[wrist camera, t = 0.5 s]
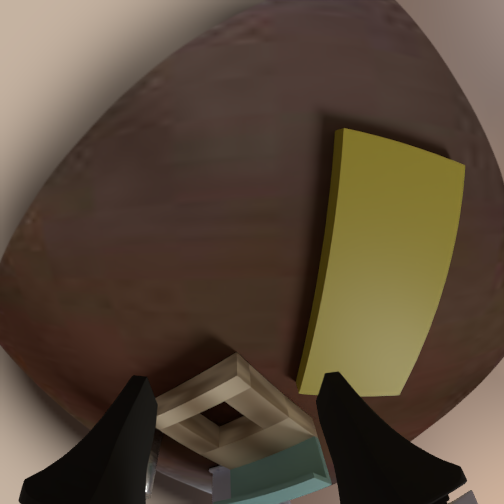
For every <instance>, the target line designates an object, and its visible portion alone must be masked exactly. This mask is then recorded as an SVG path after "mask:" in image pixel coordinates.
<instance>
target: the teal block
mask: <svg viewBox="0 0 504 504" xmlns="http://www.w3.org/2000/svg"><path fill="white" fill-rule="evenodd" d="M230 484H231V498H230V499H226V500H221V501H216V502H213V504H278V503H282V502H285V501H288V500H291V499H295V498H298V497H301V496H303V495H306V494H309V493H312V492H315V491H317V490H320V489H322V488H325V487H327V486H330V485H332V483H331V480H330V477H329V473H328V470H327V466H326V463H325V460H324V456H323V453H322V450H321V446H320V443H319V440H318V438H317V437H316V436H313V437H311V438H309V439H307V440H305V441H303V442H301V443H299V444H296V445H294V446H292V447H290V448H287V449H285V450H283V451H280V452H278V453H275V454H273V455H271V456H268V457H265V458H263V459H260V460H257V461H255V462H252V463H249V464H246V465H243V466H240V467H237V468H234V469H231V470H230Z"/></svg>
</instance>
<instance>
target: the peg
mask: <svg viewBox="0 0 504 504" xmlns="http://www.w3.org/2000/svg"><path fill="white" fill-rule="evenodd" d="M162 436H163V433H162V431H160V430H159V429H157V428H155V432H154V437H153V442H152V447H151V452H150V457H149V462H148V467H147V474H146V499H147V498H150V497H151V494H152V487H153V481H154V477H155V471H156V466H157V461H158V455H159V450H160V445H161V440H162Z"/></svg>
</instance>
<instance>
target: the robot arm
mask: <svg viewBox="0 0 504 504" xmlns="http://www.w3.org/2000/svg"><path fill="white" fill-rule="evenodd" d="M316 404H317V410H318V415H319V420H320V424H321V427H322V430H323V433H324V436H325V439H326V442H327V445H328V449H329V452H330V455H331V458H332V461H333V464H334V468H335V473H336V478H337V484H338V490H339V497H340V504H447V501H448V500H449V496H448V494H449V493H451V492H453V491H454V490H456V489H457V488H459V487H460V486H462V485H463V484H465V483H466V482H467V479H466V477H465V475H464V473H463V471H462V469H461V467H460V466H458V465H455V464H452V463H449V462H447V461H443V460H442V459H439V458H437V457H435V456H433V455H431V454H429V453H428V452H426V451H424V450H422V449H421V448H419V447H417V446H415V445H414V444H412V443H411V442H410V441H408V440H407V439H405V438H404V437H402V436H401V435H400V434H399V433H397V432H396V431H395V430H394V429H392V428H391V427H390V426H389V425H388V424H387V423H386V422H384V421H383V420H382V419H381V418H380V417H379V416H378V415H377V414H376V413H375V412H374V411H373V410H372V409H371V408H370V407H369V406H368V405H367V403H366V402H365V401H364V400H363V399H362V398H361V397H360V396H359V395H358V394H357V392H356V391H355V390H354V389H353V388H352V386H351V385H350V384H349V383H348V382H347V380H346V379H345V378H344V377H343V376H342V374H341V373H340V372H339V371H337V372H330V373H325V374H324V378H323V381H322V384H321V387H320V390H319V394H318V397H317V400H316ZM157 408H158V404H157V401H156V399H155V396H154V394H153V391H152V389H151V386H150V384H149V381H148V378H147V377H145V376H135V375H133V376H132V377H131V379H130V380H129V381H128V383H127V384H126V386H125V387H124V389H123V390H122V392H121V393H120V394H119V396H118V397H117V398H116V400H115V401H114V403H113V404H112V405H111V407H110V408H109V409H108V410H107V412H106V413H105V414H104V416H103V417H102V418H101V419H100V420H99V422H98V423H97V424H96V425H95V426H94V427H93V429H92V430H91V431H90V432H89V433H88V434H87V435H86V436H85V437H84V438H83V439H82V440H81V441H80V442H79V443H78V444H77V445H76V446H75V447H74V448H72V449H71V450H70V451H69V452H68V453H67V454H65V455H64V456H63V457H62V458H60V459H59V460H57V461H56V462H54V463H53V464H51V465H50V466H48V467H47V468H45V469H44V470H42V471H40V472H38V473H36V474H34V475H32V476H31V477H29V478H27V479H25V480H24V483H23V486H22V490H21V493H20V497H19V502H20V503H21V504H146V502H145V500H146V474H147V467H148V462H149V457H150V452H151V447H152V442H153V437H154V432H155V428H156V420H157ZM209 472H210V473H212V474H213V488H212V504H213V502H216V501H221V500H226V499H230V498H231V484H230V469H228V468H226V467H223V466H221V465H220V466H217V467H213V468H210V469H209ZM278 504H291V503H290V500H288V501H285V502H282V503H278ZM448 504H478V503H477V501H476V498H475V496H474V494H473V492H472V490H470V491H469V492H467V493H465V494H464V495H462V496H461V497H459V498H457V499H456V500H454V501H452V502H451V503H448Z"/></svg>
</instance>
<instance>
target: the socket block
mask: <svg viewBox="0 0 504 504" xmlns="http://www.w3.org/2000/svg"><path fill="white" fill-rule="evenodd" d="M155 399H156V401H157V404H158V408H157V420H156V428H157V429H159V430H160V431H162V432H163V433H165V434H166V435H168V436H169V437H171V438H173V439H174V440H176V441H178V442H179V443H181V444H183V445H184V446H186V447H188V448H189V449H191V450H193V451H195V452H196V453H198V454H200V455H202V456H204V457H206V458H208V459H210V460H211V461H213V462H215V463H217V464H219V465H221V466H223V467H226V468H228V469H230V470H231V469H234V468H237V467H240V466H243V465H246V464H249V463H252V462H255V461H257V460H260V459H263V458H265V457H268V456H271V455H273V454H275V453H278V452H280V451H283V450H285V449H287V448H290V447H292V446H294V445H296V444H299V443H301V442H303V441H305V440H307V439H309V438H311V437H313V436H316V437H317V438H318V436H317V433H316V430H315V426H314V423H313V420H312V418H311V417H310V416H309V415H307V414H306V413H305V412H304V411H303V410H301V409H300V408H299V407H298V406H297V405H295V404H294V403H293V402H292V401H291V400H289V399H288V398H287V397H286V396H285V395H283V394H282V393H281V392H280V391H279V390H278V389H277V388H275V387H274V386H273V385H272V384H271V383H270V382H269V381H267V380H266V379H265V378H264V377H263V376H262V375H261V374H260V373H259V372H257V371H256V370H255V369H254V368H253V367H252V366H251V365H250V364H249V363H248V362H247V361H246V360H244V359H243V358H242V357H241V356H240V355H239V354H238V353H237V352H236V353H234V354H233V355H231V356H229V357H228V358H226V359H224V360H223V361H221V362H219V363H218V364H216V365H214V366H213V367H211V368H209V369H208V370H206V371H204V372H202V373H201V374H199V375H197V376H195V377H194V378H192V379H190V380H188V381H186V382H185V383H183V384H181V385H179V386H177V387H175V388H174V389H172V390H170V391H168V392H166V393H164V394H162V395H160V396H158V397H157V398H155ZM224 401H225V402H226V403H228V404H229V405H230V406H232V407H233V408H235V409H236V410H237V411H239V412H240V413H241V414H243V415H244V416H242V417H240V418H238V419H236V420H234V421H231V422H229V423H227V424H225V425H222V426H220V427H219V426H218V425H216V424H215V423H213V422H212V421H210V420H209V419H207V418H206V417H204V416H203V415H201V414H200V413H201V412H203V411H205V410H207V409H209V408H211V407H214V406H216V405H218V404H220V403H222V402H224Z"/></svg>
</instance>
